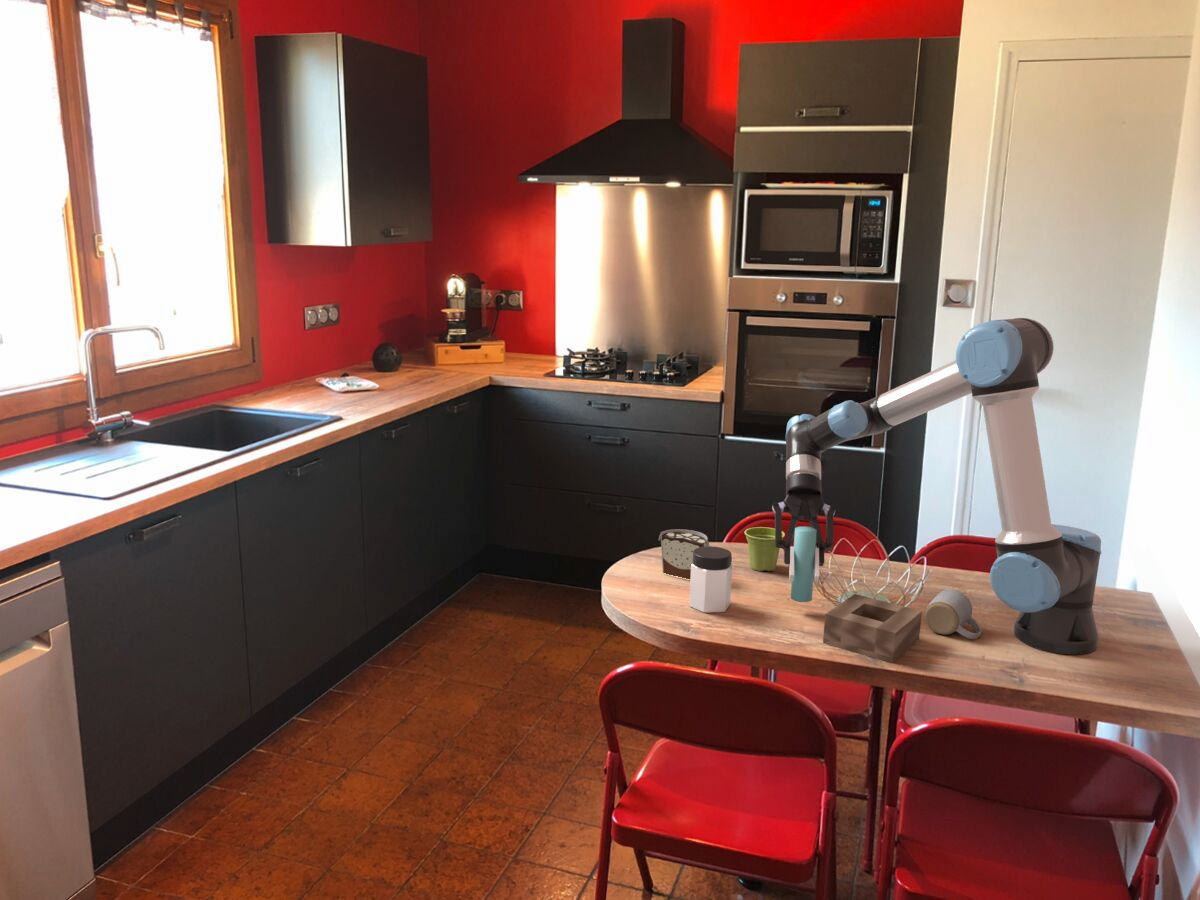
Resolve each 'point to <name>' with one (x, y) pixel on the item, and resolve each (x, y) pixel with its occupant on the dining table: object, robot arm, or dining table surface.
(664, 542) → the food container
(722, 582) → the jar
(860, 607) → the hole block
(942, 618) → the ceramic mug
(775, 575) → the dining table surface
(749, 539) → the plant pot
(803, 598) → the pin
